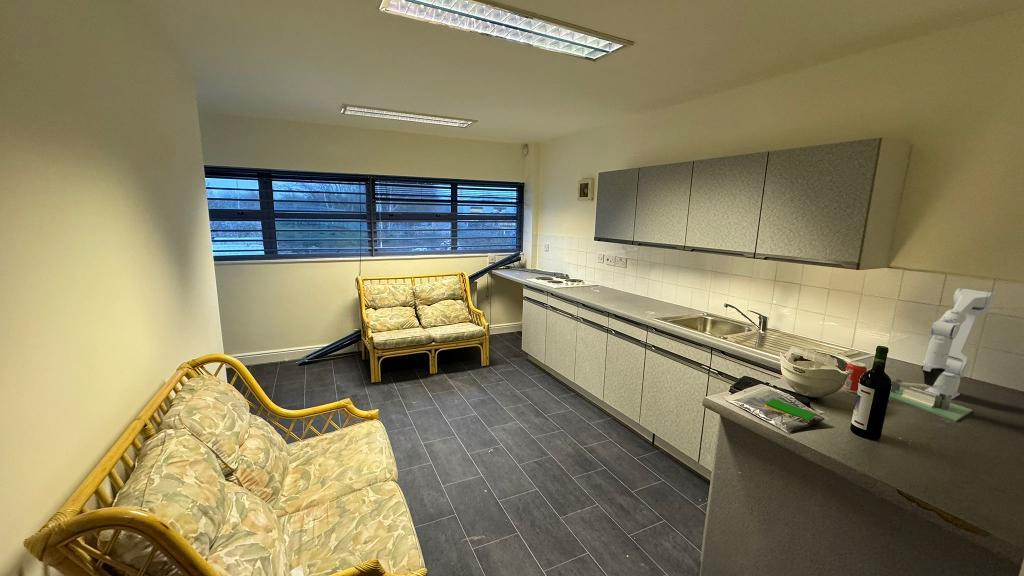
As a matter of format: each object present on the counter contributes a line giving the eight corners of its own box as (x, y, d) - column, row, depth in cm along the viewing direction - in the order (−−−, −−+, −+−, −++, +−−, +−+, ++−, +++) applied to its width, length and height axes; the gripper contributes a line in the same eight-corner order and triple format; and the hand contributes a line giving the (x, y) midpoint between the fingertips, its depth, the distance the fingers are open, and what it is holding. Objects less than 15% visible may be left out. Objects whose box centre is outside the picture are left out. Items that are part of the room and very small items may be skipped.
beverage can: (865, 394, 162) (871, 367, 160) (849, 393, 163) (856, 366, 160) (852, 387, 169) (858, 360, 166) (837, 386, 169) (843, 360, 166)
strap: (896, 383, 164) (896, 381, 164) (946, 387, 151) (945, 385, 152) (893, 384, 163) (893, 382, 163) (943, 389, 150) (943, 387, 150)
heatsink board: (890, 385, 171) (893, 372, 170) (971, 411, 151) (975, 398, 149) (872, 392, 164) (876, 380, 163) (955, 421, 143) (959, 407, 142)
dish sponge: (807, 426, 139) (808, 419, 138) (764, 409, 150) (765, 403, 149) (814, 419, 143) (815, 413, 143) (771, 403, 154) (773, 397, 153)
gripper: (945, 358, 145) (935, 392, 148) (959, 352, 152) (950, 385, 155) (919, 352, 151) (910, 385, 154) (934, 346, 158) (925, 378, 161)
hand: (928, 384), depth 155 cm, fingers closed, pressing on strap
